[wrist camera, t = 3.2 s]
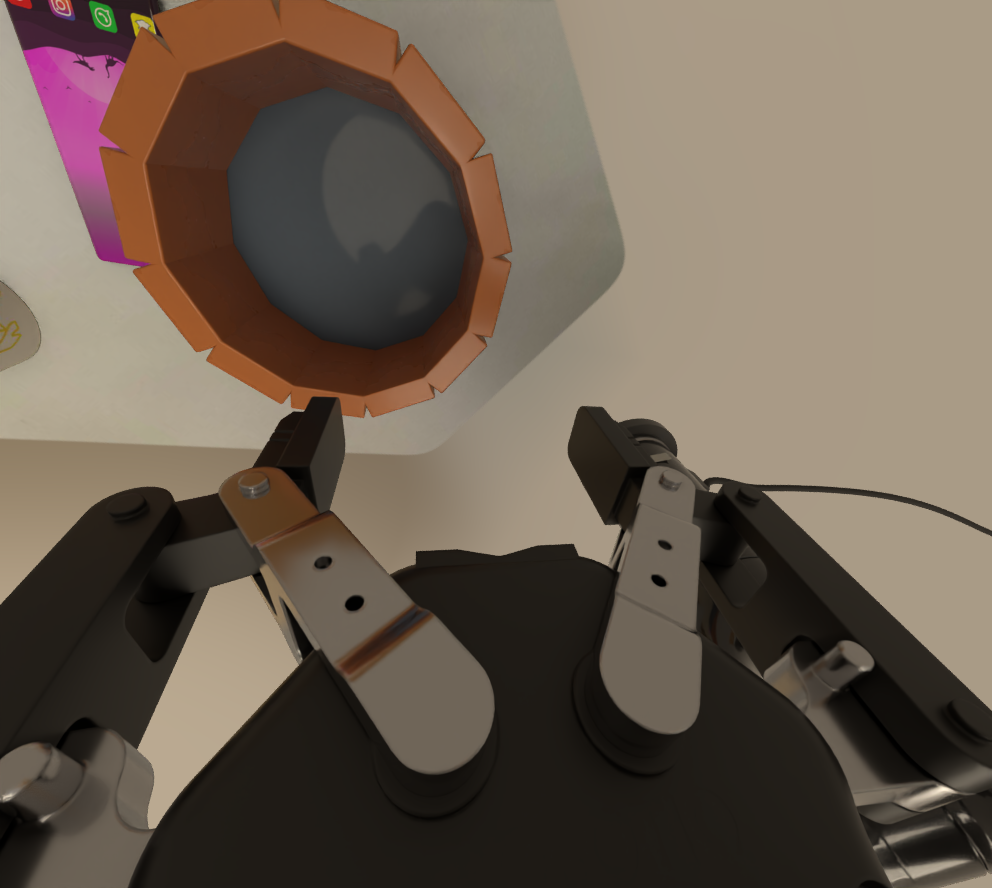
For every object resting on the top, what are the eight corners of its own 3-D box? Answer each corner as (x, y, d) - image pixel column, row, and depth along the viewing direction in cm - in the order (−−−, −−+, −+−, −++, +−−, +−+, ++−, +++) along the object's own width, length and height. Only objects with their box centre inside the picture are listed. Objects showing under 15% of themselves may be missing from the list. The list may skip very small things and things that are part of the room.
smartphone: (160, -12, 21) (150, -19, 20) (216, 276, 29) (211, 278, 28) (-10, -65, 19) (-27, -75, 18) (101, 258, 27) (92, 260, 26)
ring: (537, 238, 20) (574, 256, 15) (386, 405, 24) (377, 461, 19) (300, -57, 13) (230, -197, 8) (147, 244, 17) (41, 266, 13)
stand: (502, 188, 28) (543, 189, 19) (421, 343, 34) (421, 405, 25) (313, 39, 23) (231, -72, 13) (254, 257, 28) (166, 293, 19)
